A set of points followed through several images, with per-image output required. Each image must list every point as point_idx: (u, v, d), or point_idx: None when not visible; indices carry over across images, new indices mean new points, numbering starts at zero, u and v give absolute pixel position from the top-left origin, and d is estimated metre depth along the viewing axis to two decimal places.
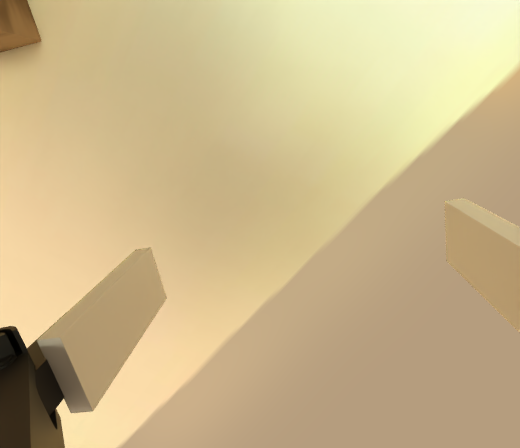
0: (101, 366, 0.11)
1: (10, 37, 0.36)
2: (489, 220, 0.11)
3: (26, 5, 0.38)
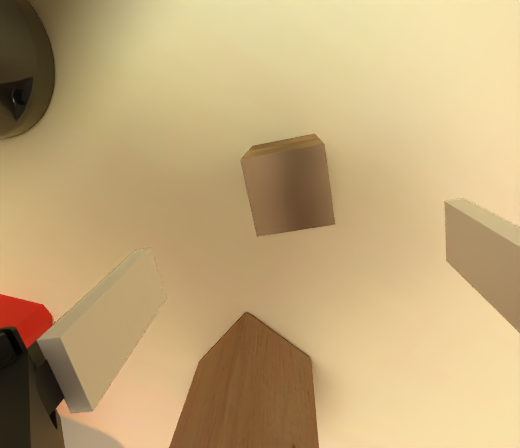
0: (101, 366, 0.11)
1: None
2: (489, 220, 0.11)
3: (277, 141, 0.32)
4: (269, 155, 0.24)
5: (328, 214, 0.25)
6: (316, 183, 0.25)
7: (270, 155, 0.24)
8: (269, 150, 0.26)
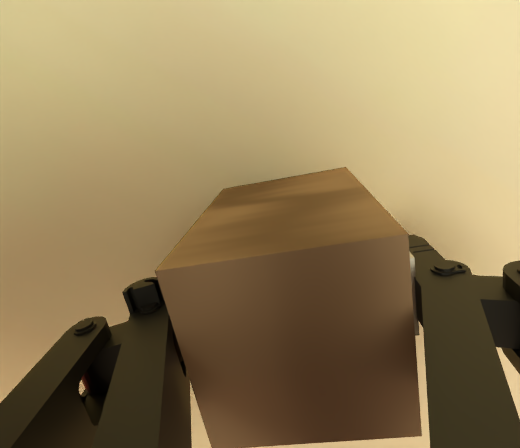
0: None
1: None
2: None
3: (270, 182, 0.16)
4: (238, 261, 0.08)
5: (406, 413, 0.09)
6: (376, 338, 0.08)
7: (241, 262, 0.08)
8: (245, 226, 0.10)
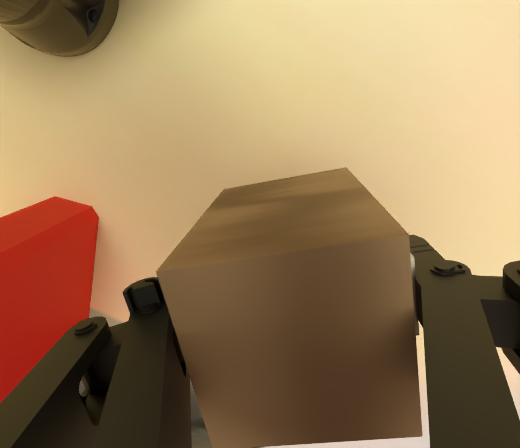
0: None
1: None
2: None
3: (270, 182, 0.16)
4: (239, 262, 0.08)
5: (406, 413, 0.09)
6: (377, 339, 0.08)
7: (242, 262, 0.08)
8: (246, 226, 0.10)
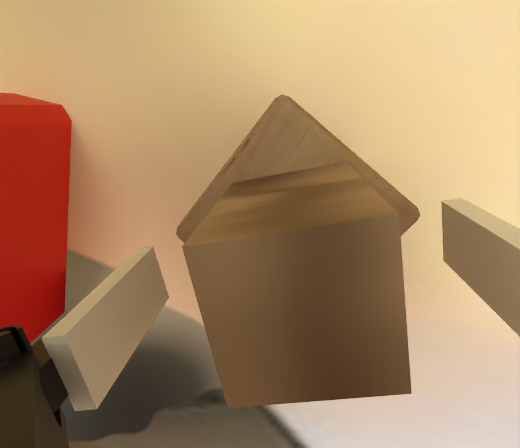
0: (105, 364, 0.11)
1: None
2: (485, 220, 0.11)
3: (276, 175, 0.17)
4: (254, 238, 0.09)
5: (397, 372, 0.10)
6: (372, 305, 0.10)
7: (256, 238, 0.09)
8: (257, 211, 0.12)
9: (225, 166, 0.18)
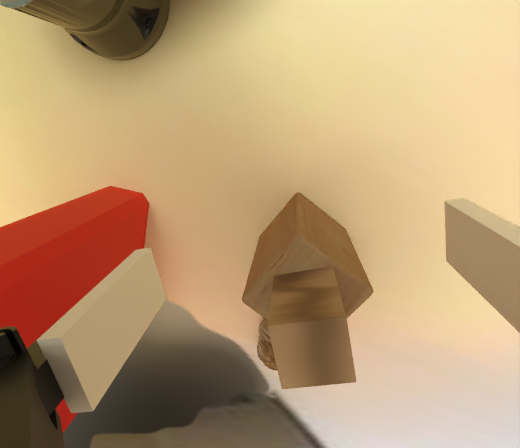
0: (101, 366, 0.11)
1: None
2: (489, 220, 0.11)
3: (297, 273, 0.34)
4: (294, 323, 0.26)
5: (350, 373, 0.27)
6: (339, 348, 0.26)
7: (295, 324, 0.26)
8: (293, 306, 0.28)
9: (270, 266, 0.35)
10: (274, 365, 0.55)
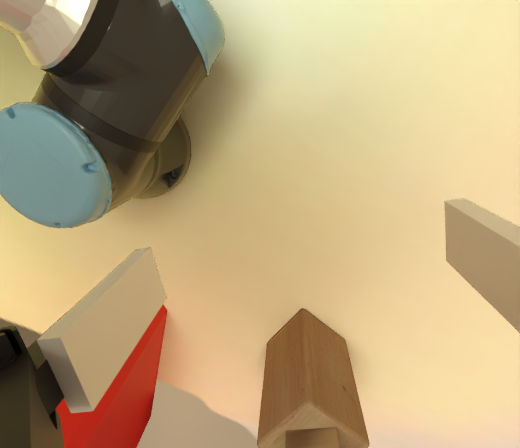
0: (101, 366, 0.11)
1: None
2: (489, 220, 0.11)
3: (305, 432, 0.40)
4: None
5: None
6: None
7: None
8: None
9: (282, 423, 0.41)
10: None
